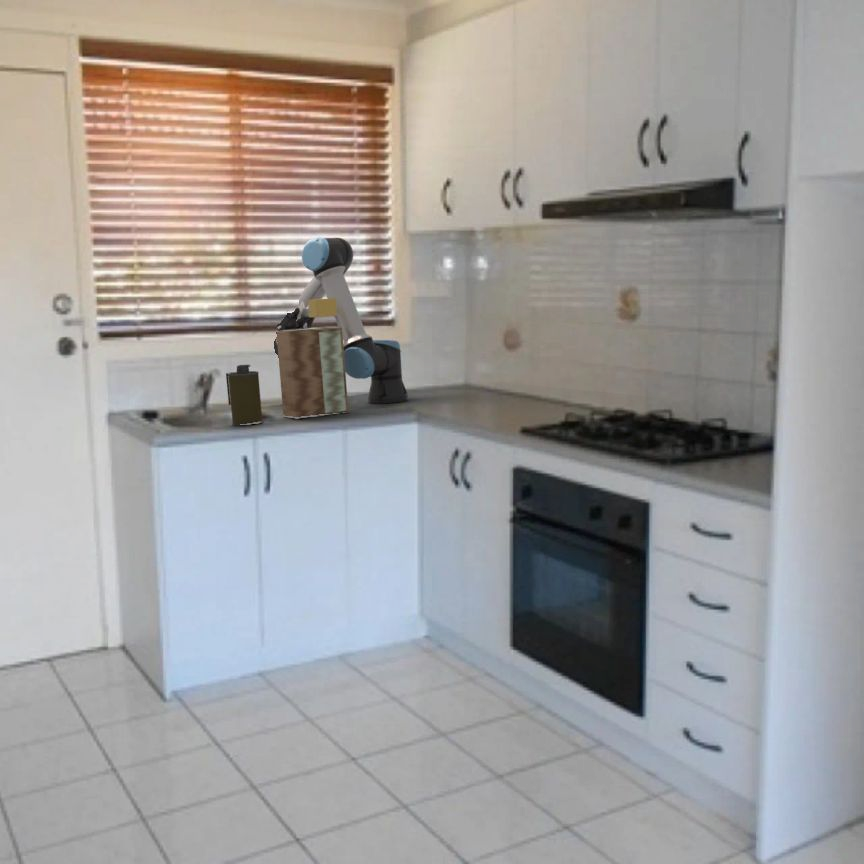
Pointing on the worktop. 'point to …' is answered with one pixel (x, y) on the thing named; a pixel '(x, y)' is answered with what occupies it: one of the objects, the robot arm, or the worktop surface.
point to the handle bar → (321, 308)
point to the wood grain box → (312, 371)
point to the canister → (244, 395)
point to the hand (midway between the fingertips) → (307, 304)
